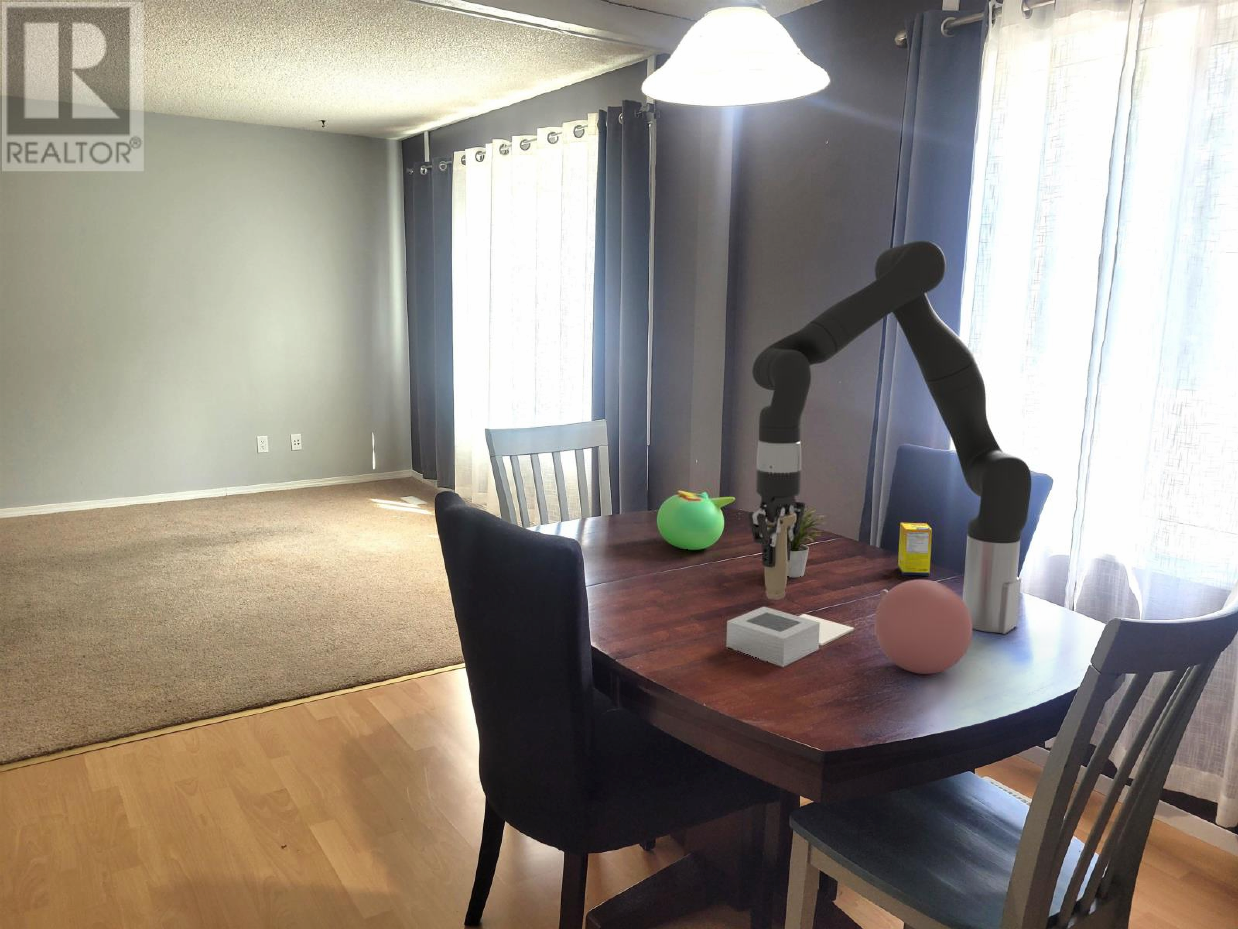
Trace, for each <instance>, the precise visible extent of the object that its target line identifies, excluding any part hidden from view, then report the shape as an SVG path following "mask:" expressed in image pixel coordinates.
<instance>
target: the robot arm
mask: <svg viewBox="0 0 1238 929" xmlns="http://www.w3.org/2000/svg"><path fill="white" fill-rule="evenodd" d="M946 269H947V261H946V256H945V254H944V252H943V250H942V249H941V248H940V246H938V245H937V244H935V243H934V242H931V241H927V240H916V241H911V242H907V243H903V244H901V245H898V246H895V247H891V248H889V249H886V250H884V251H883V252H882V253H880V255H879V256H878V258H877V260H876V262H875V267H874V275H875V280H874V281H873V282H871V283H869V284H868V285H867V286H864V287H863V288H862V289H860V290H858V291H857V292H854V293H853V294H851V295H849V296H847V297H846V298H844V299H842V300H840V301H838V302H836V303H835V304H833V305H832V306H830V307H828V308H827V309H826V310H824V311H823V312H821V313H820V314H819V315H817V316H816V317H815V318H813V319H812V320H811V321H810V322H808V323H807V324H806V325H805V326H803V327H802V328H801V329H799V330H798V331H796V332H793V333H790V334H789V335H787V336H785V337H783V338H782V339H781V338H780V339H779V340H777V341H776V342H774V343H772V344H770V345H769V346H767V347H766V348H765V349H763V350H762V351H761V352H760V353H759V354H758V356H757V357H756V358H755V360H754V362H753V365H752V368H751V370H752V372H751V374H752V377H753V380H754V382H755V383H756V384H757V385H758V386H759V387H761V388H763V389H765V390H770V391H773V392H772V398H771V403H770V405H767V406H764V407H762V409H761V410H760V412H759V419H758V444H757V450H756V451H757V452H756V472H755V473H756V478H755V480H756V481H755V482H756V484H755V485H756V486H755V492H756V493H757V494H758V495H760V497H761V499H760V504H759V509H758V510H757V511H755V512H754V511H750V512H749V514H748V518H749V523H750V529H751V533H752V538H753V542H754V543H755V544H759V545H761V546H762V547H761V564H762V566H764V567H765V566H766V567H770V568H771V567H774V566H775V553H776V546H775V544H776V538H777V534H779V533H780V530H781V527H780V524H782V520H780V518H781V517H784V515H786V514H787V515H791V514H793V513H795V514H796V522H795V525H794V524H792V525H790V526H789V527H788V528H787V559H788V561H790V551H791V541H792V540H793V537H794V535H798V534H799V531H800V527H801V522H802V520H803V518H804V516H803V513H804V509H805V508H806V503H805V502H803V501H798V500H796V496H799V495H800V493H801V488H802V486H801V483H802V480H801V479H802V456H803V455H802V446H801V441H802V440H801V436H802V435H801V434H802V414H803V412H804V409H805V407H806V406H805V405H806V403H807V398H808V395H809V390H810V387H811V381H812V368H811V366H812V365H818V364H823V363H825V362H828V361H829V360H830V359H832V358H833V357H835V356H836V355H837V354H838V353H840V352H841V351H843V349H844V348H846V347H847V346H848V345H849V344H851V343H852V342H853V341H854V340H855V339H857V338H858V337H860V336H861V335H863V333H865V331H867V330H869V329H870V328H872V327H873V326H874V325H875V324H877V323H878V322H880V321H882V320H883V319H884V318H885V317H887V316H888V315H890V314H891V313H892V314H893V315H894V317H895V319H896V322H898V324H899V326H900V328H901V330H902V332H903V334H904V337H906V340H907V343H908V345H909V347H910V349H911V351H912V354H913V355H914V357H915V358H914V359H915V360H916V362H917V365H918V367H919V369H920V372H921V374H922V377H923V380H924V382H925V384H926V386H927V389H928V391H929V393H930V396H931V397H932V399H933V402H934V403H935V405H936V408H937V410H938V413H939V414H940V417H941V419H942V421H943V423H944V426H945V427H946V429H947V431H948V433H949V435H950V437H951V440H952V443H953V446H954V448H955V451H956V454H957V458H958V461H959V465H960V468H961V471H962V475H963V477H964V481H965V483H966V484H967V487H968V488H969V489H970V490H971V492H973V493H974V494H975V495H976V496H978V497H979V498H980V501H979V502H980V503H979V510H978V515H977V516H975V517H973V518H972V519H970V520H969V522H968V525H967V536H966V537H967V538H966V549H965V550H966V552H965V563H964V577H963V590H962V601H963V602H964V604H965V605H966V607H967V609H968V611H969V614H970V617H971V621H972V630H977V631H981V632H988V633H997V634H998V633H1000V634H1004V635H1005V634H1007V633H1009V632H1010V631H1011V630H1014V629H1015V628H1016V627H1018V619H1019V610H1020V597H1021V596H1020V595H1021V587H1022V586H1021V585H1022V584H1021V583H1022V578H1020V577H1018V573H1019V572H1018V571H1019V560H1020V559H1019V558H1020V549H1021V537H1022V536H1021V535H1022V531H1023V529H1024V528H1025V526H1026V524H1027V520H1028V515H1029V509H1030V502H1031V501H1030V500H1031V492H1032V475H1031V474H1032V473H1031V470H1030V467H1029V466H1028V464H1027V462H1025V461H1024V460H1023V459H1021V458H1020V457H1017V456H1015V455H1011V454H1010V453H1009V454H1008V453H1006V452H1004V451H1003V450H1002V448H1001V447H1000V446H999V444H998V442H997V439H996V437H995V436H994V434H993V432H992V429H991V428H990V427H991V426H990V424H989V422H988V418H987V417H988V416H987V394H986V384H985V382H984V379H983V375H982V373H981V371H980V369H979V367H978V364H977V362H976V359H975V357H974V355H973V352H972V350H970V348H969V346H968V345H967V344H966V343H965V342H964V341H963V339H961V338H960V336H959V335H958V334H956V333H955V331H954V330H953V329H952V328H950V327H949V326H948V325H947V324H946V323H945V322H944V321H943V320H942V319H941V318H940V316H938V314H937V313H936V311H935V310H934V307H933V306H932V305H931V302H930V300H929V298H928V296H927V293H928V292H931V291H932V290H934V289H935V288H937V287H938V286H939V285H940V284H941V282H942V280H943V279H944V277H945V275H946ZM765 517H767V519H768V521H770V522H771V523H773V522H774V521H775V518H776V521H775V526H774V528H769V527H767V525H766V522H767V519H765ZM802 517H803V518H802ZM793 527H794V528H793ZM768 532H770V533H771V537H770V539H769V535H768ZM1015 626H1016V627H1015ZM1014 627H1015V628H1014Z"/></svg>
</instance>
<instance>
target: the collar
mask: <svg viewBox="0 0 1238 929" xmlns="http://www.w3.org/2000/svg"><path fill="white" fill-rule="evenodd" d="M799 616H800V615H795V614H791V613H787V612H784V611H781V610H779V609H775V608H770V607H767V606H761V607H759V608H756V609H754V610H752V611H749V612H747V613H744V614H741V615H739V616H736V617H734V618H732V619H729V620H727V621H726V647H730V648H733V649H734V650H739V651H741V652H743V653H745V654H744V655H746V654H749V655H751V656H750V657H752V656H753V657H752V658H755V657H757V658H756V659H758V658H759V659H758V660H760V661H764V662H767V661H768V663H771V664H773V665H776V666H779V667H782V668H785V667H786V666H788V665H790V664H792V663H794V662H797V661H798V660H800V659H803V658H804V657H806V656H808V655H810V654H812V653H814V652H816V651H819V647H820V645H819V630H820V622H816V621H813V620H809V619H806V618H802V617H799ZM734 650H733V651H734ZM743 653H742V654H743ZM749 655H748V656H749Z"/></svg>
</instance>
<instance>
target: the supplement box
mask: <svg viewBox="0 0 1238 929" xmlns="http://www.w3.org/2000/svg"><path fill="white" fill-rule="evenodd" d="M899 525H900V526H899V539H898V561H897V562H898V563H897V569H898V570H899V572H900V573H901V575H902V576H922V577H923V576H926V577H928V576H930V573H931V572H930V570H931V554H932V536H933V535H932V533H933V530H932V528H931V527H930V525H929V524H927V523H922V522H918V523H917V522H916V523H914V522H900V524H899Z"/></svg>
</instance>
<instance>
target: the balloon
mask: <svg viewBox="0 0 1238 929" xmlns="http://www.w3.org/2000/svg"><path fill="white" fill-rule="evenodd" d="M879 592H880V594H879V595H878V597H877V598H878V601H879V604H878V605H877V608H876V611H875V614H874V622H873V625H874V634H875V638H876V642H877V643H878V646H879V647H880V650H882V652H883V653H884V655H885V656H886V657H887V658H888V659H889V660H890V661H891V662H892V663H893V664H895V665H896V666H898V667H900V668H902V669H904V670H905V671H908V672H911V673H916V674H920V675H928V674H938V673H940V672H944V671H946V670H949V669H950V668H952V667H954V666H955V665H956V664H957V663H958V662H960V661H961V660H962V659H963V657H964V656H965V654H967V652H968V649H969V647H970V645H971V641H972V637H973V628H972V621H971V617H970V614H969V611H968V609H967V607H966V605H965V604H964V602H963V598H961V597H960V596H959V595H958V594H957V593H956V592H955V591H954V590H953V589H951V588H950V587H948V586H946V585H944V584H942V583H941V582H938V581H934V580H929V579H913V580H912V579H911V580H906V581H904V582H901V583H899V584H897V585H896V586H894V587H892V588H891V589H890V590H887V589H886V588H885V589H881V590H880V591H879Z"/></svg>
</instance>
